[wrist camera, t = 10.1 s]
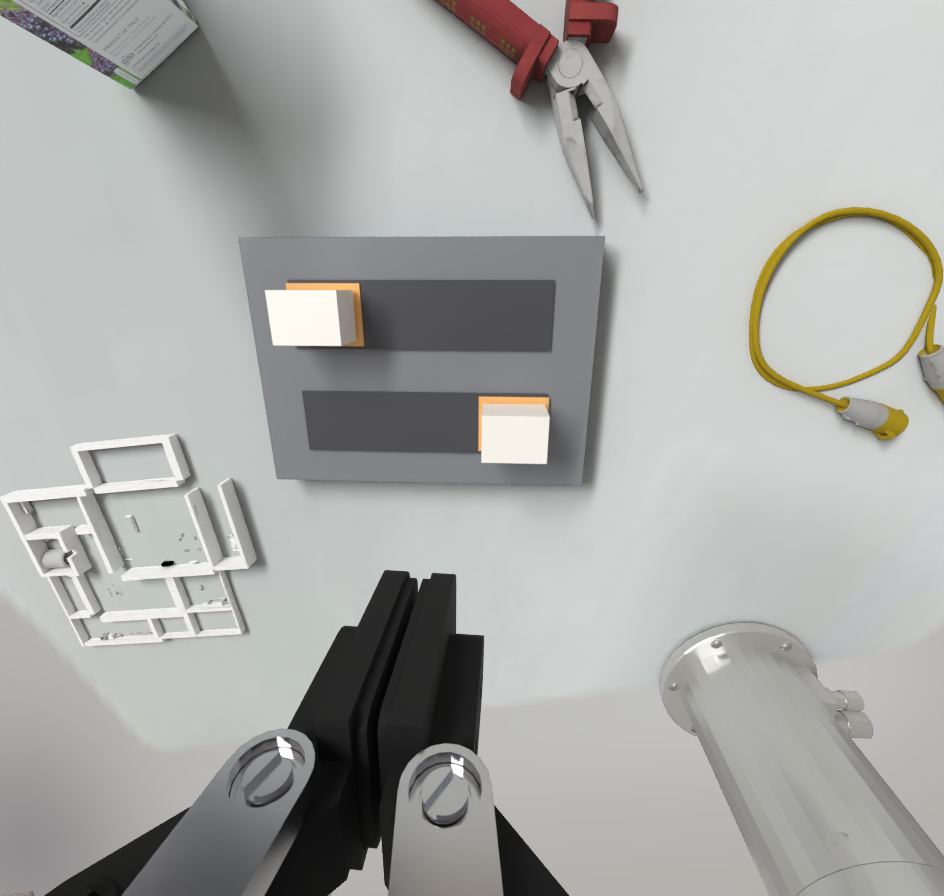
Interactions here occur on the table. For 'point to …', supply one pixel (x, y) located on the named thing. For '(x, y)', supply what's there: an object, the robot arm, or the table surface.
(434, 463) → the switch panel
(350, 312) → the tab
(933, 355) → the extension cord
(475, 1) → the pliers
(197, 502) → the floor plan model
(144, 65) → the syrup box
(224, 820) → the robot arm
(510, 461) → the tab
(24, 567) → the table surface
